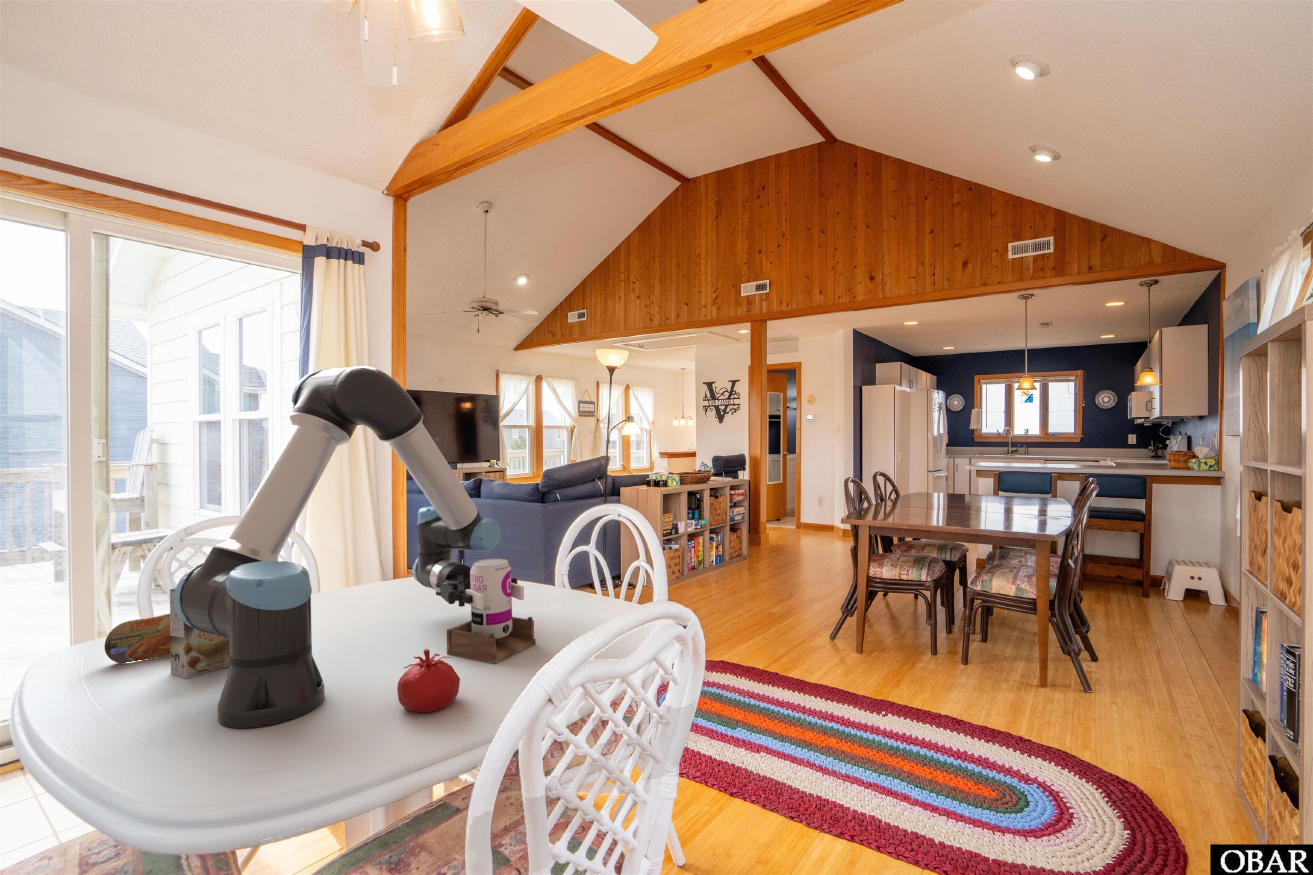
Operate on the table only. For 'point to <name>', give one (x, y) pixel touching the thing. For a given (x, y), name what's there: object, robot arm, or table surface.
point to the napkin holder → (490, 641)
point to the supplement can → (492, 597)
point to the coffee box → (194, 648)
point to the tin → (139, 639)
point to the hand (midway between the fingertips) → (502, 597)
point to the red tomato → (428, 685)
